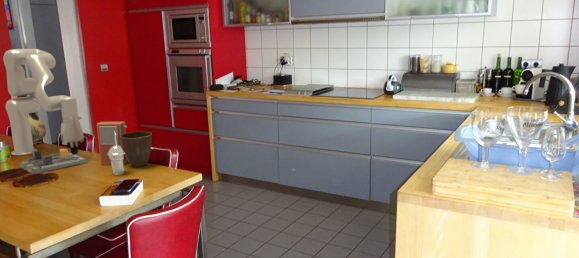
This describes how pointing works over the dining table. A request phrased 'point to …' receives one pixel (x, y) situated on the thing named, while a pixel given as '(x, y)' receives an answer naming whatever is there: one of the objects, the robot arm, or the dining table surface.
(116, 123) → the control panel
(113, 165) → the cup with straw
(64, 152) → the block
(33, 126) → the ceramic jug
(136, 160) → the plant pot
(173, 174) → the dining table surface
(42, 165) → the breaker board
